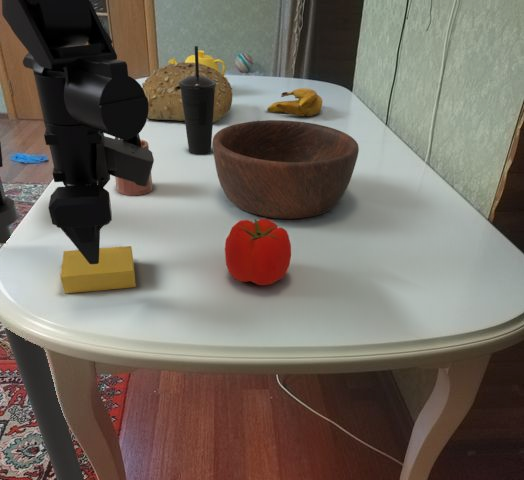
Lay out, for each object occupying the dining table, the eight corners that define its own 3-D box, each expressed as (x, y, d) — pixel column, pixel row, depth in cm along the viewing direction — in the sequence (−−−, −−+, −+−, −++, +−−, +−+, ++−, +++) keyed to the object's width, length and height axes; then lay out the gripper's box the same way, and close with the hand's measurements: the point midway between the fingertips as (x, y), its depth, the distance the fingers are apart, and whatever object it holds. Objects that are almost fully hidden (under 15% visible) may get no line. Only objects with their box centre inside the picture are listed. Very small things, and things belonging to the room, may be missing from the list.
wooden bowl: (329, 172, 104) (335, 119, 98) (369, 224, 85) (380, 162, 78) (207, 174, 100) (206, 119, 94) (221, 230, 81) (220, 166, 75)
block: (64, 293, 65) (60, 277, 63) (67, 267, 70) (63, 250, 69) (135, 287, 67) (133, 270, 65) (133, 261, 72) (131, 245, 71)
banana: (316, 103, 149) (318, 82, 145) (326, 121, 134) (329, 98, 131) (264, 102, 148) (265, 80, 144) (269, 120, 133) (270, 96, 130)
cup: (117, 196, 90) (110, 150, 85) (116, 183, 95) (110, 139, 90) (153, 194, 91) (149, 149, 86) (151, 181, 96) (146, 137, 91)
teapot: (208, 85, 162) (207, 45, 155) (232, 94, 154) (232, 52, 147) (169, 90, 155) (165, 48, 148) (191, 100, 147) (189, 56, 140)
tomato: (220, 263, 73) (219, 214, 68) (280, 259, 74) (283, 210, 70) (232, 299, 66) (232, 246, 61) (298, 292, 67) (302, 241, 63)
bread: (235, 106, 143) (235, 58, 136) (229, 127, 126) (228, 73, 119) (149, 102, 143) (145, 53, 136) (132, 122, 126) (125, 68, 119)
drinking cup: (223, 149, 113) (222, 46, 100) (206, 159, 107) (203, 51, 95) (194, 143, 115) (189, 41, 103) (175, 152, 110) (168, 46, 97)
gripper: (150, 142, 51) (163, 277, 60) (140, 97, 65) (152, 212, 74) (32, 146, 48) (66, 285, 58) (48, 98, 62) (73, 217, 72)
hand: (94, 246), depth 66 cm, fingers open, 9 cm apart
